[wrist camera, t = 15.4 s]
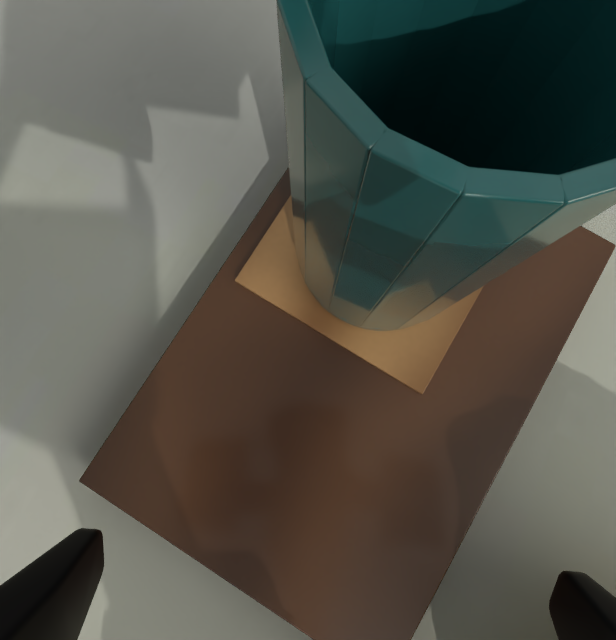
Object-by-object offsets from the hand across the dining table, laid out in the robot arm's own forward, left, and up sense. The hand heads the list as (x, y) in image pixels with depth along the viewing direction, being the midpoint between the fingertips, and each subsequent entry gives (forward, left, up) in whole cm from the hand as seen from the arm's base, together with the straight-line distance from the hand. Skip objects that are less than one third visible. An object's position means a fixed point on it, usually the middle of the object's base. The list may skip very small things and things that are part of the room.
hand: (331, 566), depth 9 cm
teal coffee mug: (+3, -11, -9) cm, 14 cm away
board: (+1, -5, -11) cm, 12 cm away
